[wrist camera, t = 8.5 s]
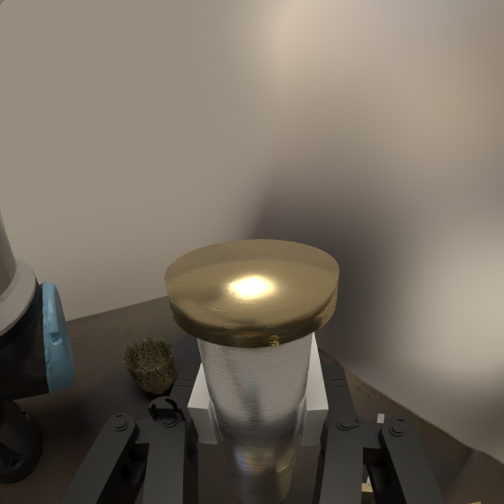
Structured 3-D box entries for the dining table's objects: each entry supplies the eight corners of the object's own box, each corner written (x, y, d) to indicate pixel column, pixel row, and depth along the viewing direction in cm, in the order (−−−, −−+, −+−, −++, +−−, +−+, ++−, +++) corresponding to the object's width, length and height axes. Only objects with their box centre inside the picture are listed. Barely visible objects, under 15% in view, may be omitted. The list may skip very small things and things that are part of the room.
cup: (188, 402, 35) (177, 363, 32) (141, 411, 32) (123, 374, 30) (177, 370, 41) (167, 332, 39) (135, 379, 39) (121, 342, 36)
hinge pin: (240, 524, 10) (176, 330, 5) (216, 470, 14) (160, 252, 9) (310, 499, 12) (376, 278, 6) (280, 451, 16) (287, 233, 11)
